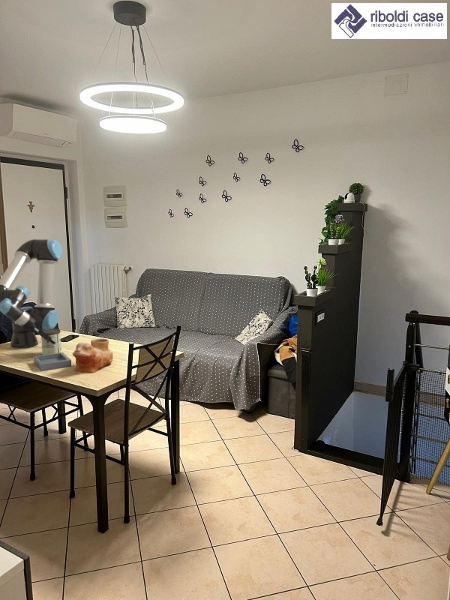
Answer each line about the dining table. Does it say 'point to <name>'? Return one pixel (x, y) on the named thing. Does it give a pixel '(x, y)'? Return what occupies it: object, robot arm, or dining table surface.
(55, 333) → the coffee can
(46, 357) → the tray
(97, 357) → the ceramic vessel
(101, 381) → the dining table surface
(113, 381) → the dining table surface
